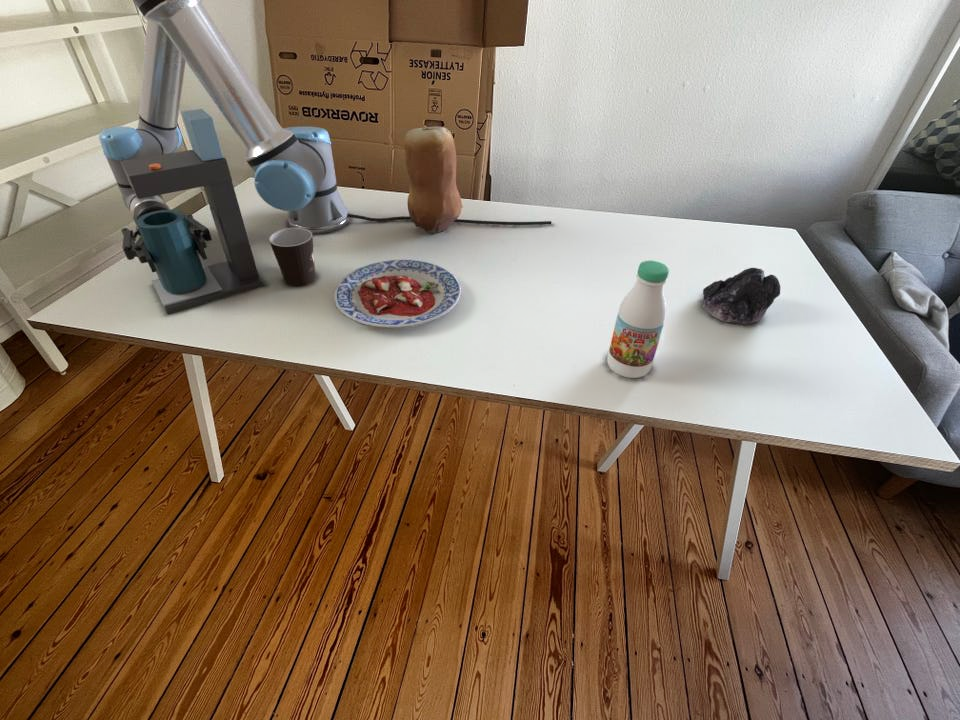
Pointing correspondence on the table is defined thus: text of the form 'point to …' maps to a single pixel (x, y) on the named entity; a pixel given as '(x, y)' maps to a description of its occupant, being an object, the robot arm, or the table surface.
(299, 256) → the coffee mug
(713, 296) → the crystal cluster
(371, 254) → the table surface
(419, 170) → the butternut squash
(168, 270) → the teal tumbler
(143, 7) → the robot arm
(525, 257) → the table surface
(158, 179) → the coffee maker
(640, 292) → the milk bottle
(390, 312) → the ceramic plate
